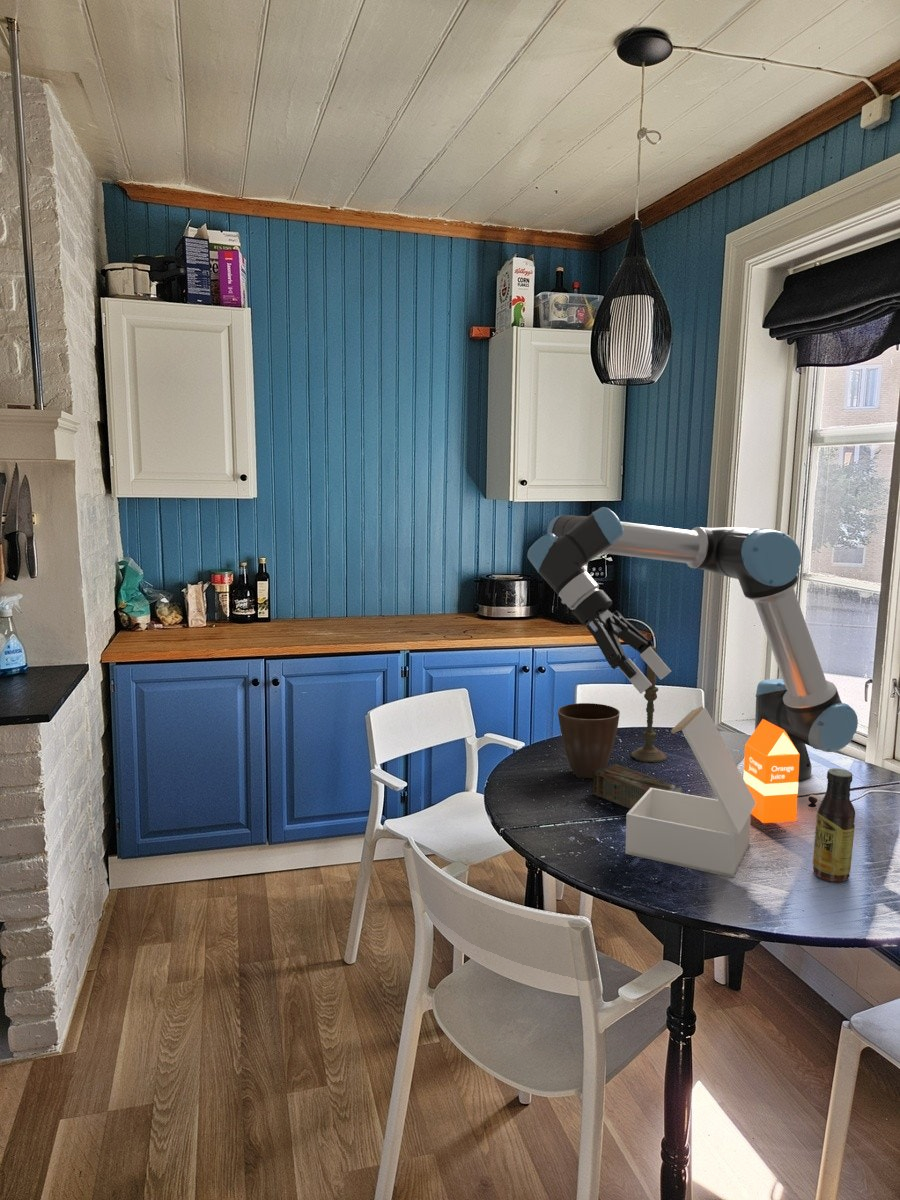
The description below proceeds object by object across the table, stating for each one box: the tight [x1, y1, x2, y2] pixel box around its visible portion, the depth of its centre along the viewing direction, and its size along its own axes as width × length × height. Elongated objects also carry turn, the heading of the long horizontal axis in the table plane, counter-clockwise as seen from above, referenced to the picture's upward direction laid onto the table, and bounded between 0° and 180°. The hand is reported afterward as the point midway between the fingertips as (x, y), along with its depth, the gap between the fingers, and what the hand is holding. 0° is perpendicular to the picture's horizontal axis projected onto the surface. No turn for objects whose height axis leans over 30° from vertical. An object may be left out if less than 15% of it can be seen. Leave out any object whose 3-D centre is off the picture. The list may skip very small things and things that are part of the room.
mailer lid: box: [670, 705, 756, 835], centre depth 155 cm, size 21×17×3 cm
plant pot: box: [557, 702, 621, 780], centre depth 200 cm, size 15×15×16 cm
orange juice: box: [742, 719, 800, 824], centre depth 175 cm, size 8×9×20 cm
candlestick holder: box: [630, 643, 668, 764], centre depth 211 cm, size 9×9×30 cm
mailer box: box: [624, 788, 752, 879], centre depth 159 cm, size 20×16×8 cm
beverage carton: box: [592, 763, 682, 810], centre depth 182 cm, size 8×19×7 cm, turn 39°
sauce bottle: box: [812, 767, 856, 883], centre depth 146 cm, size 7×6×20 cm
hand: (656, 682), depth 159 cm, fingers open, 13 cm apart
